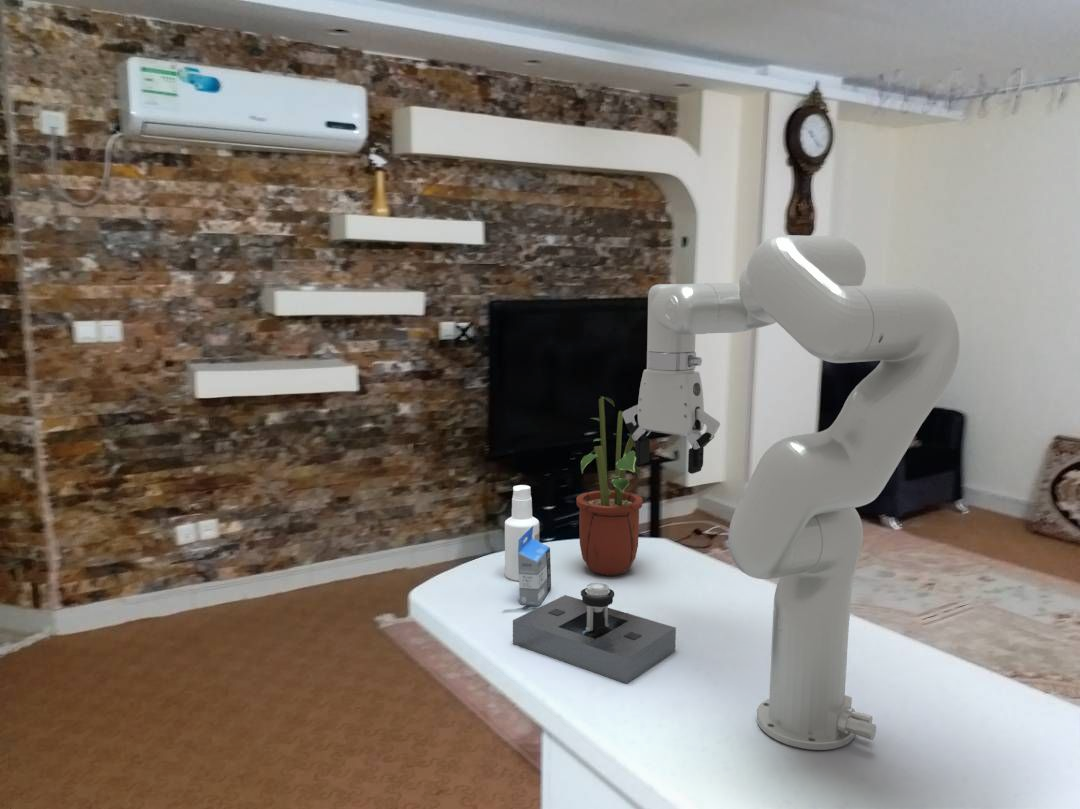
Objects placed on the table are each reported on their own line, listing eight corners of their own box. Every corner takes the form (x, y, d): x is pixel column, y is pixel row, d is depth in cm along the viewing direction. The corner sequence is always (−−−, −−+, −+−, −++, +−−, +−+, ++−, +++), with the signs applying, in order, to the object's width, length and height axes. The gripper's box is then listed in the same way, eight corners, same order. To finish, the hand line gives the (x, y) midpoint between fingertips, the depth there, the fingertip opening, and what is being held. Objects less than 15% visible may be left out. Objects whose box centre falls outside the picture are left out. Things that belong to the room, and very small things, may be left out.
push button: (586, 657, 136) (586, 596, 135) (567, 645, 141) (567, 586, 139) (620, 648, 140) (621, 588, 138) (600, 636, 144) (601, 578, 143)
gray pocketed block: (675, 651, 139) (675, 626, 138) (626, 683, 128) (627, 657, 127) (565, 616, 152) (565, 594, 152) (512, 643, 142) (512, 619, 141)
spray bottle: (546, 575, 173) (546, 486, 170) (522, 584, 168) (522, 493, 165) (521, 567, 177) (521, 481, 174) (497, 575, 172) (497, 487, 169)
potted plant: (562, 569, 176) (563, 398, 170) (614, 552, 186) (616, 390, 181) (627, 593, 163) (630, 408, 158) (679, 573, 174) (684, 399, 168)
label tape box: (539, 606, 157) (539, 541, 155) (517, 604, 158) (517, 539, 156) (551, 589, 165) (551, 527, 163) (531, 587, 166) (531, 525, 164)
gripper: (731, 364, 136) (727, 471, 139) (637, 356, 147) (635, 456, 149) (708, 368, 130) (704, 480, 133) (612, 360, 141) (610, 464, 144)
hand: (668, 467), depth 141 cm, fingers open, 9 cm apart
